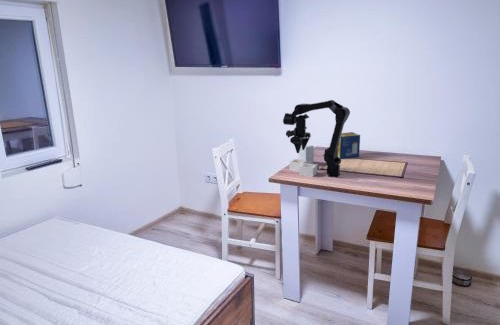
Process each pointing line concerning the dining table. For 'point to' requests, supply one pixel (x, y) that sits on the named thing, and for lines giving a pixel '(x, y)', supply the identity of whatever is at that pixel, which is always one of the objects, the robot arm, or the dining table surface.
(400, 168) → the dining table surface
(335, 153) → the robot arm
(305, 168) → the pot
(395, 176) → the dining table surface
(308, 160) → the small box
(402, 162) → the dining table surface
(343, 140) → the protein box
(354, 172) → the dining table surface
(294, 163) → the pot
